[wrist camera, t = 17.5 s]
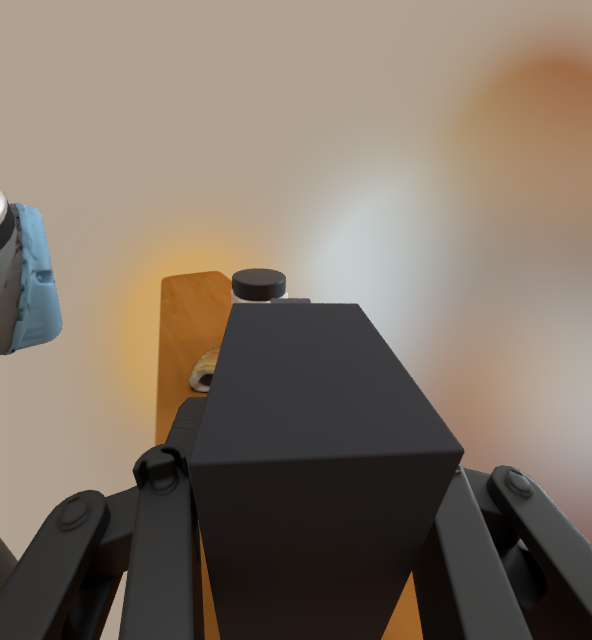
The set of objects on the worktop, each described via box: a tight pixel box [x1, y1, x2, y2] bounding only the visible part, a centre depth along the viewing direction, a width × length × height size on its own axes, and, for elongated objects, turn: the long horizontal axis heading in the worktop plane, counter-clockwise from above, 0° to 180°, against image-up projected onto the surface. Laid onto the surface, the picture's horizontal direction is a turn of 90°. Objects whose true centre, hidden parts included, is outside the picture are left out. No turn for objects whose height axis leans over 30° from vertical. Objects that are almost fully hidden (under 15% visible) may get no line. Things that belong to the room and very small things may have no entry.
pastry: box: [189, 346, 221, 392], centre depth 40 cm, size 9×7×4 cm
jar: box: [231, 269, 288, 305], centre depth 45 cm, size 9×8×12 cm
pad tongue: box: [188, 298, 464, 640], centre depth 12 cm, size 10×5×10 cm, turn 5°
